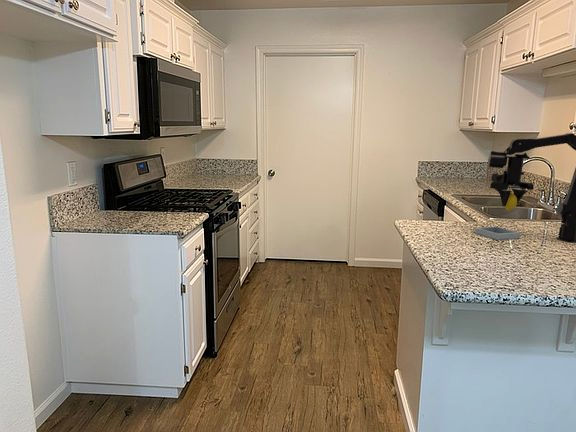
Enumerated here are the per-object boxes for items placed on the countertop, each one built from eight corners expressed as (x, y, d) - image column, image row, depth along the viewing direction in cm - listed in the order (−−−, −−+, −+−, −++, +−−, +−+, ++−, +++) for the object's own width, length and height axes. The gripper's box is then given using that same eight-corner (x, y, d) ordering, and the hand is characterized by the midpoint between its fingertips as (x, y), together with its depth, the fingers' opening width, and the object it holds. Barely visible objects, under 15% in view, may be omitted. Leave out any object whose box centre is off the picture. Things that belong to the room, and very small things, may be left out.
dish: (519, 238, 184) (519, 232, 184) (497, 240, 180) (498, 234, 179) (495, 232, 195) (496, 226, 195) (474, 233, 190) (475, 228, 190)
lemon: (517, 212, 186) (519, 193, 185) (502, 211, 187) (505, 192, 186) (513, 210, 192) (516, 192, 190) (499, 209, 193) (502, 191, 191)
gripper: (514, 167, 197) (509, 202, 200) (482, 166, 190) (477, 203, 193) (537, 170, 187) (531, 206, 190) (503, 169, 180) (498, 207, 183)
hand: (509, 206), depth 189 cm, fingers closed on lemon, 5 cm apart
